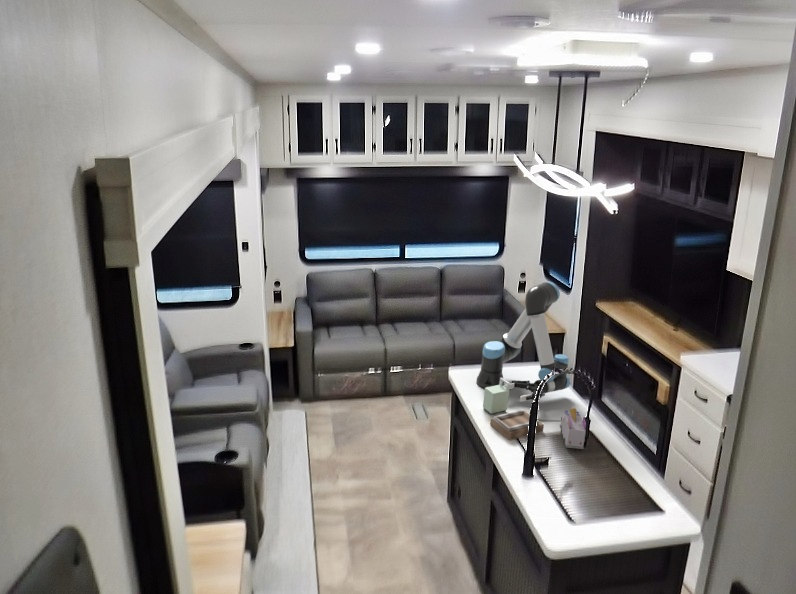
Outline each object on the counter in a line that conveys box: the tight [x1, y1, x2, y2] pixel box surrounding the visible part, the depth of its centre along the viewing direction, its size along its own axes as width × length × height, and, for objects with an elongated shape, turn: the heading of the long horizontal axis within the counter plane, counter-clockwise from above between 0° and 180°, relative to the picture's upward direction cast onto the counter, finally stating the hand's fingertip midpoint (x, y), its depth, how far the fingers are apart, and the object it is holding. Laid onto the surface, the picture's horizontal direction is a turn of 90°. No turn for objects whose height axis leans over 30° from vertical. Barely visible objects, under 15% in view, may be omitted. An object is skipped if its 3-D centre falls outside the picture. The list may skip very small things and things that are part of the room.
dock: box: [489, 409, 545, 441], centre depth 300 cm, size 20×15×6 cm
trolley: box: [482, 377, 511, 416], centre depth 314 cm, size 10×7×16 cm
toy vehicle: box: [559, 407, 587, 450], centre depth 290 cm, size 9×20×15 cm, turn 174°
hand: (511, 393), depth 318 cm, fingers open, 13 cm apart
